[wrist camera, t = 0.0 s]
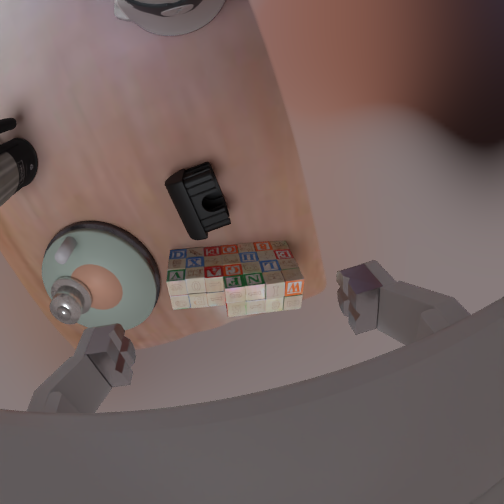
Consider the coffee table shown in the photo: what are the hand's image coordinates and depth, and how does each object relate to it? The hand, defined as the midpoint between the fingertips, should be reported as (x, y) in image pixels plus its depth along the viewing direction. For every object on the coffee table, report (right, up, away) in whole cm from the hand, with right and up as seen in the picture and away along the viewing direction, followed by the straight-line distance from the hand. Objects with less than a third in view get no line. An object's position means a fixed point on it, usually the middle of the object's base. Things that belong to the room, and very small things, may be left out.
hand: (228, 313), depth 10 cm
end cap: (-8, +12, +38) cm, 41 cm away
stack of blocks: (-3, +1, +46) cm, 46 cm away
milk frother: (-43, +19, +27) cm, 55 cm away
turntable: (-29, -4, +42) cm, 51 cm away
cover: (-34, -6, +40) cm, 53 cm away
